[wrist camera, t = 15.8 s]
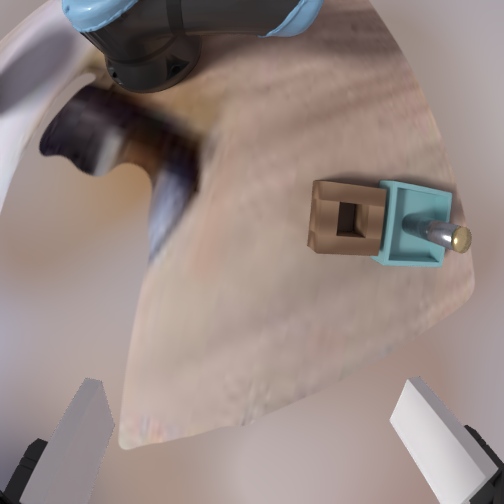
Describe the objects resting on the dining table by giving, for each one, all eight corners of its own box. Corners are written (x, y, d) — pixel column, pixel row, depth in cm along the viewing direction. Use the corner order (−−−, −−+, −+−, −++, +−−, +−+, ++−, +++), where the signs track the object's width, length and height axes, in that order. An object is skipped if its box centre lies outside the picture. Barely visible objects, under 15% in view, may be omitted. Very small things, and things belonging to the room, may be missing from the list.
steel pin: (402, 212, 44) (457, 226, 31) (418, 214, 44) (473, 228, 31) (400, 233, 45) (453, 252, 31) (415, 234, 45) (469, 253, 32)
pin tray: (379, 180, 44) (393, 180, 39) (436, 191, 45) (452, 193, 40) (370, 257, 47) (383, 265, 42) (427, 260, 48) (441, 266, 43)
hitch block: (313, 180, 43) (323, 181, 38) (371, 188, 44) (386, 189, 39) (307, 245, 45) (316, 253, 40) (364, 248, 46) (378, 256, 41)
